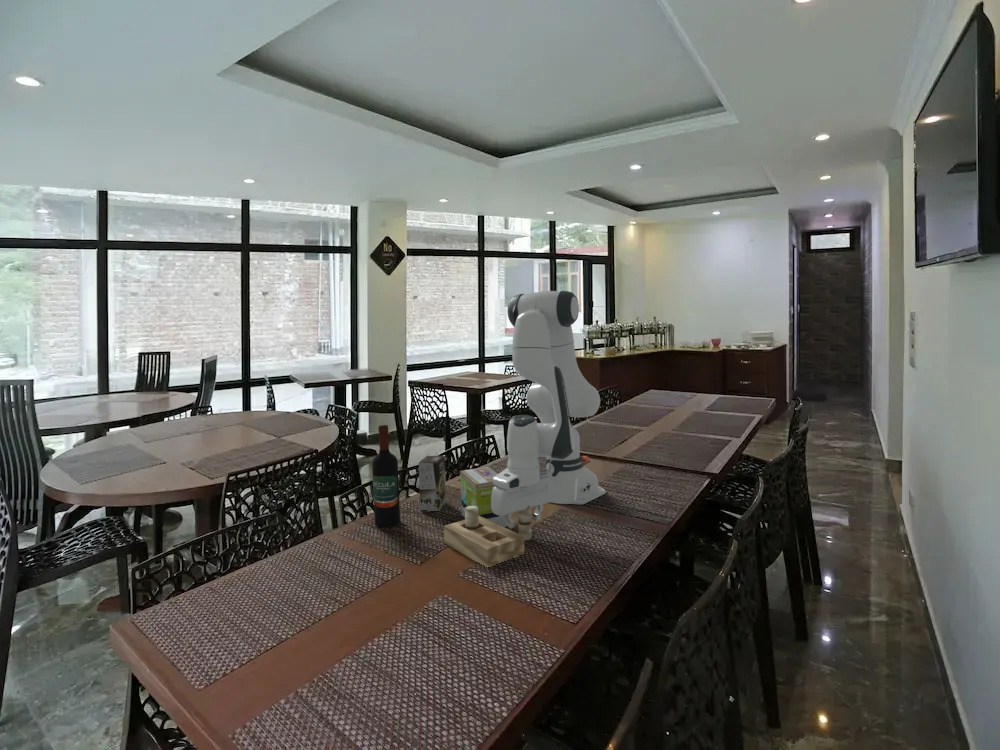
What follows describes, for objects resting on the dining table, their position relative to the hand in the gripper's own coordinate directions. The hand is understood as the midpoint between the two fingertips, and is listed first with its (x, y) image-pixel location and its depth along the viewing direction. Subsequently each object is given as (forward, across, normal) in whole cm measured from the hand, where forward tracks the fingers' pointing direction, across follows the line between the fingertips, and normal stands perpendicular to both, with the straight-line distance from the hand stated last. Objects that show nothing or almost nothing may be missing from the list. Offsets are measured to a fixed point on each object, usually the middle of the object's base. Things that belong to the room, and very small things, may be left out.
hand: (524, 523), depth 162 cm
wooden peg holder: (+4, +13, -2) cm, 14 cm away
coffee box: (+5, +6, -39) cm, 40 cm away
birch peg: (+4, 0, 0) cm, 4 cm away
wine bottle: (+5, +24, -36) cm, 43 cm away
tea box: (+5, +1, -18) cm, 19 cm away
